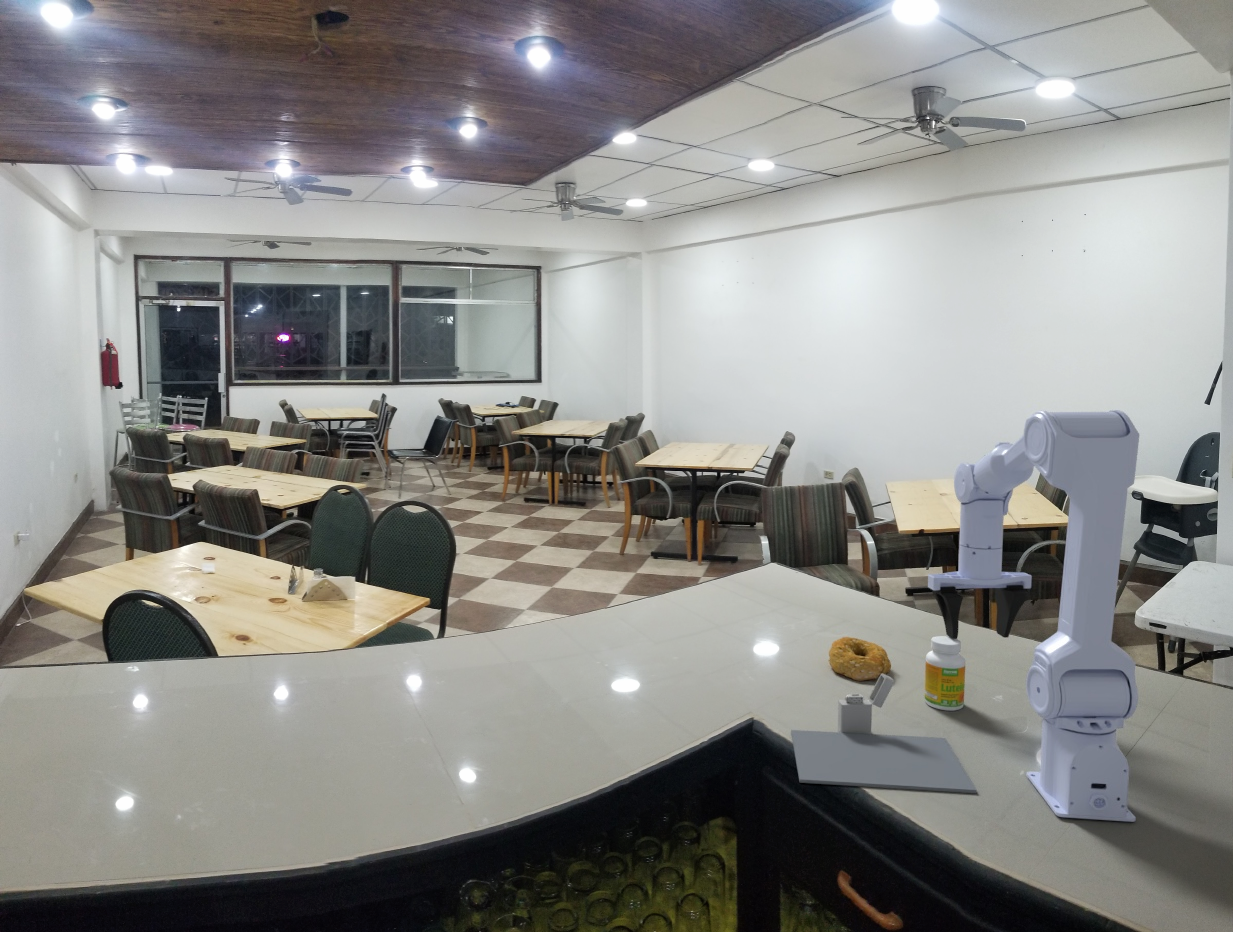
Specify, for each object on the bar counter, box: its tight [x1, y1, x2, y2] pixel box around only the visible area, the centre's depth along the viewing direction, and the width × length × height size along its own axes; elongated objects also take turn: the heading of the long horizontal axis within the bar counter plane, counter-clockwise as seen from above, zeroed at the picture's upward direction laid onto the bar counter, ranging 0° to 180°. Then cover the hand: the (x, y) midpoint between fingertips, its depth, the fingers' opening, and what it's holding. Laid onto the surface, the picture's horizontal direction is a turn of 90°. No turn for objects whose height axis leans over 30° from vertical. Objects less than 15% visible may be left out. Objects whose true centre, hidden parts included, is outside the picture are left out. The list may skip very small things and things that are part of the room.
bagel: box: [828, 636, 892, 682], centre depth 130 cm, size 10×11×5 cm
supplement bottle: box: [923, 635, 966, 712], centre depth 115 cm, size 5×5×10 cm
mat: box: [790, 729, 978, 794], centre depth 99 cm, size 14×20×1 cm
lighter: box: [837, 673, 895, 734], centre depth 106 cm, size 7×2×8 cm, turn 92°
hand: (977, 635), depth 116 cm, fingers open, 7 cm apart
